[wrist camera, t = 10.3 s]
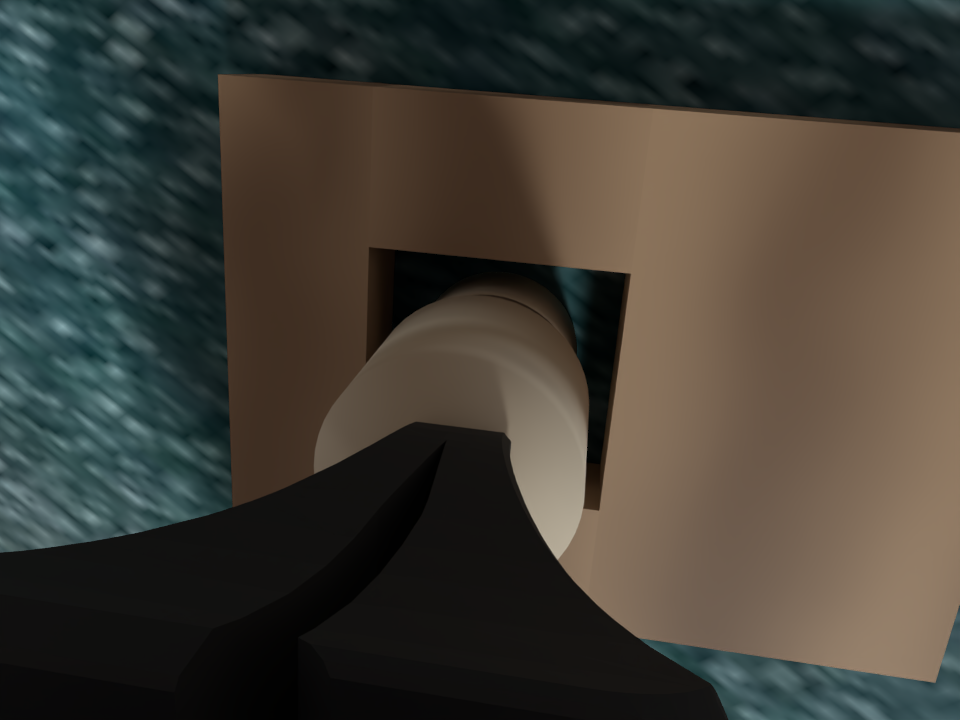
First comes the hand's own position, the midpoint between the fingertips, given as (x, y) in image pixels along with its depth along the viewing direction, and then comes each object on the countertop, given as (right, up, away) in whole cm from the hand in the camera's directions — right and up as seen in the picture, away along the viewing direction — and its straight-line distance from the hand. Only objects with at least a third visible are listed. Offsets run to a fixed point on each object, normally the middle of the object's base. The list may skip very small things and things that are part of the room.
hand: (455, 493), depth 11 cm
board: (+3, +2, +6) cm, 6 cm away
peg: (+1, +2, +6) cm, 6 cm away
